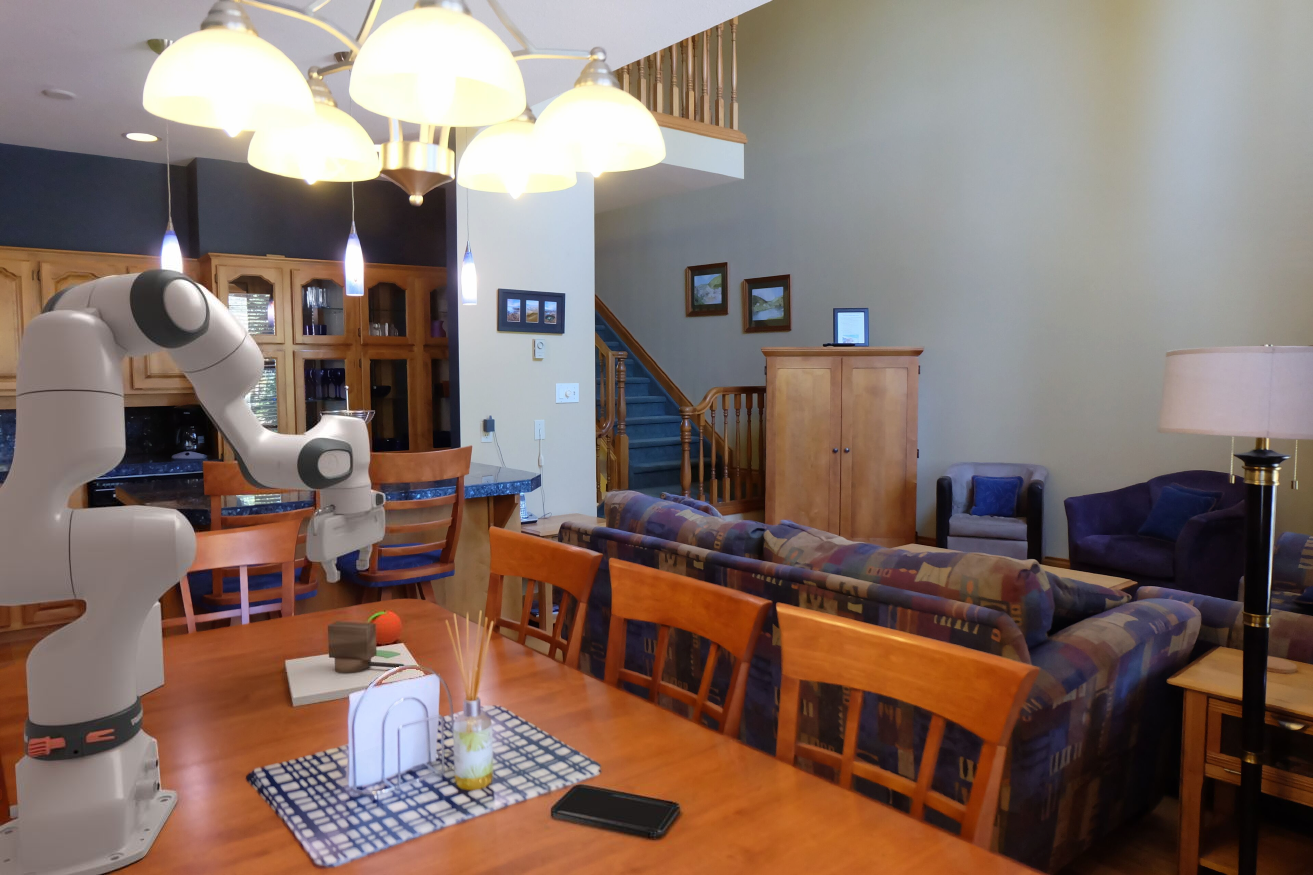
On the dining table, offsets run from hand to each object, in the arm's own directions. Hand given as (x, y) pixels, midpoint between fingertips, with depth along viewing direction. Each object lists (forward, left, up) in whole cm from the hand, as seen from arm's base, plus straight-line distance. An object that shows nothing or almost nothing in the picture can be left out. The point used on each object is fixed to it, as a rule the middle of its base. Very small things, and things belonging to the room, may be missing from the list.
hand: (348, 575), depth 154 cm
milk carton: (+10, +36, -19) cm, 42 cm away
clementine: (+16, -8, -19) cm, 26 cm away
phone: (-69, -23, -20) cm, 76 cm away
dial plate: (-1, 0, -19) cm, 19 cm away
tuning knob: (-3, -3, -17) cm, 18 cm away
